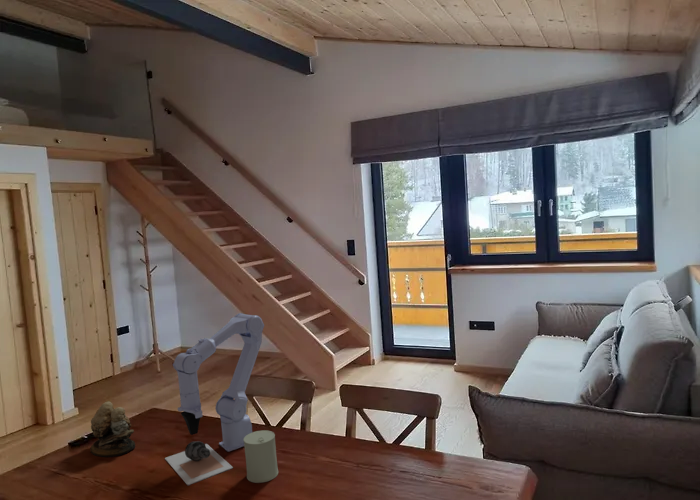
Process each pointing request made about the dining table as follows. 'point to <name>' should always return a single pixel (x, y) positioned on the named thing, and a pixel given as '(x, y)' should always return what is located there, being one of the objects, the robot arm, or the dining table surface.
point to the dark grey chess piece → (197, 451)
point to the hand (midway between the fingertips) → (193, 433)
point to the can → (260, 456)
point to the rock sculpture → (111, 431)
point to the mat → (198, 466)
